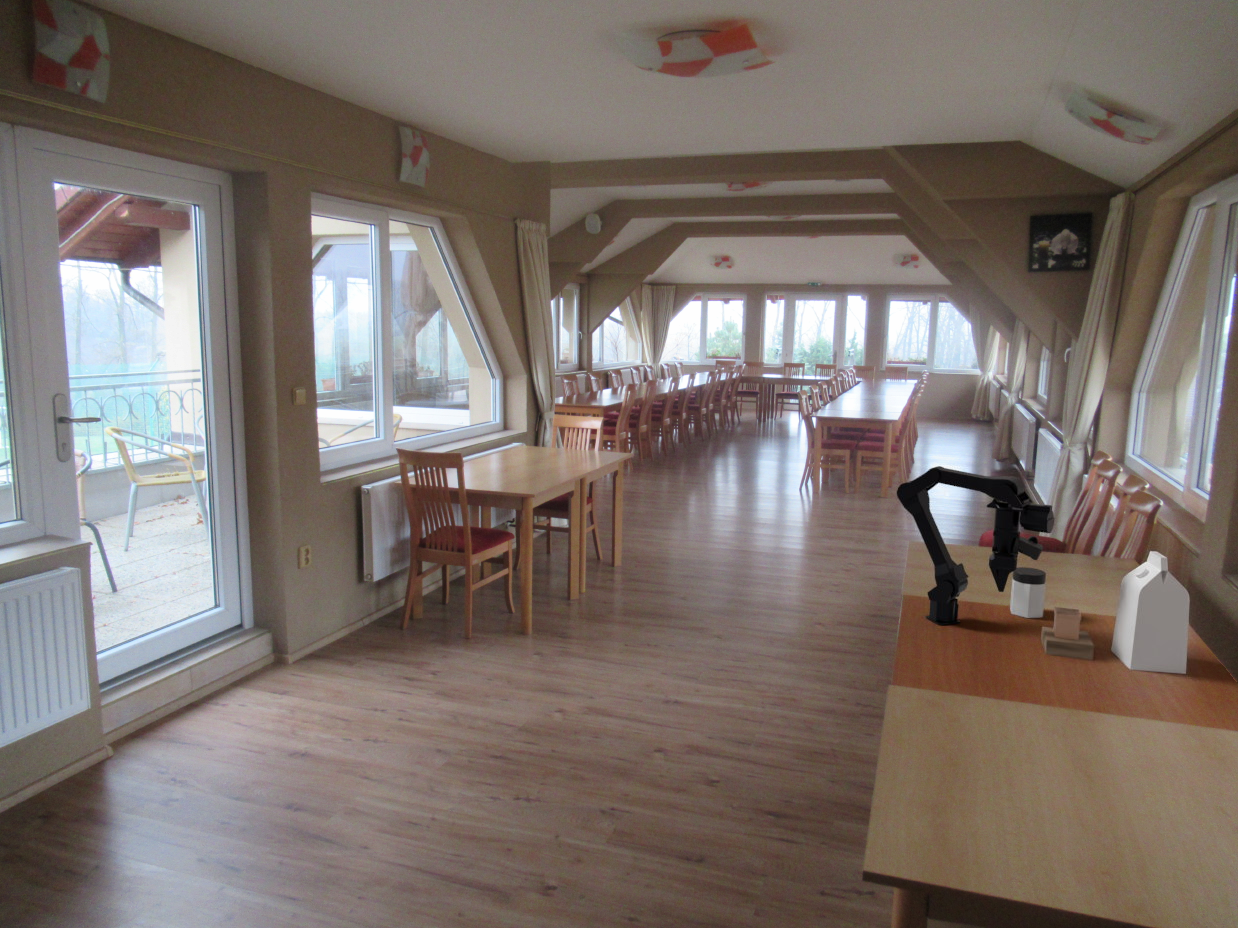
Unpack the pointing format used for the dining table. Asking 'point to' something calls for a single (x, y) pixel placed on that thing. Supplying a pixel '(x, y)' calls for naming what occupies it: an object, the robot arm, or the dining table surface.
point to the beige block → (1067, 645)
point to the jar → (1028, 592)
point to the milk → (1152, 619)
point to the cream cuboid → (1066, 623)
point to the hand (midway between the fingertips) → (1001, 586)
